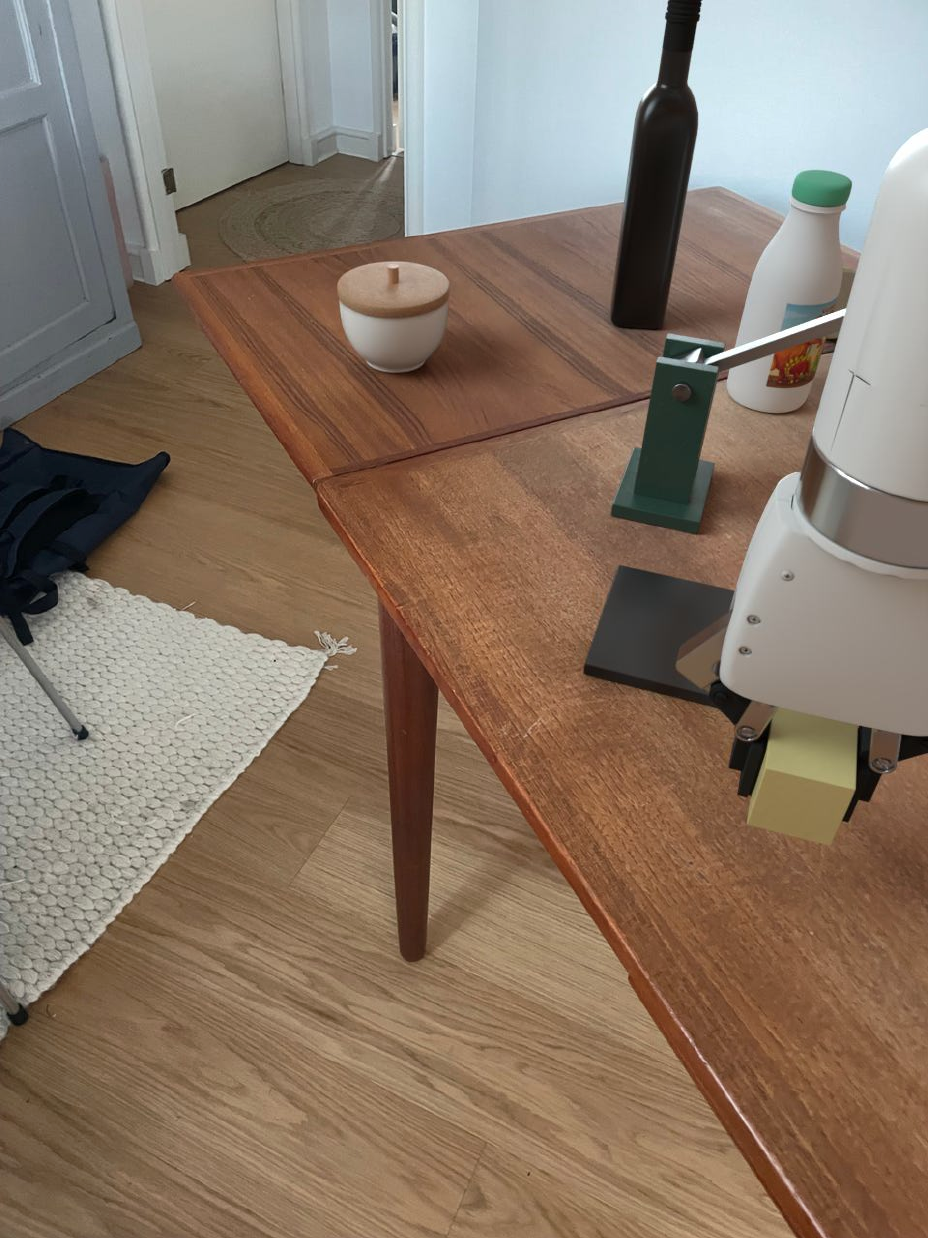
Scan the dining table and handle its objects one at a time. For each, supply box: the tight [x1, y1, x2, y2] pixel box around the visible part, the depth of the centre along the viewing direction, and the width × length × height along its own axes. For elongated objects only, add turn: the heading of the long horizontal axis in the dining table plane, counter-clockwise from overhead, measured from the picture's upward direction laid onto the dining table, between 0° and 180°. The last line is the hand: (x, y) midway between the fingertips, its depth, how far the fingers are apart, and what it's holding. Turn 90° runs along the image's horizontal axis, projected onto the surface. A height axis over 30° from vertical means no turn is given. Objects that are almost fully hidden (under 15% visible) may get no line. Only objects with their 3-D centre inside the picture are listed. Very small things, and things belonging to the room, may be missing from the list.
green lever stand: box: [610, 333, 727, 535], centre depth 73 cm, size 7×9×13 cm
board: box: [582, 564, 735, 709], centre depth 65 cm, size 12×11×1 cm
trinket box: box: [336, 261, 451, 374], centre depth 91 cm, size 11×11×9 cm
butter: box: [746, 707, 859, 847], centre depth 46 cm, size 4×6×4 cm, turn 161°
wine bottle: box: [609, 0, 703, 330], centre depth 92 cm, size 6×6×30 cm
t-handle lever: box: [672, 309, 846, 374], centre depth 67 cm, size 15×5×2 cm
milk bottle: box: [726, 169, 853, 414], centre depth 83 cm, size 8×8×20 cm
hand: (794, 785), depth 48 cm, fingers closed on butter, 4 cm apart
